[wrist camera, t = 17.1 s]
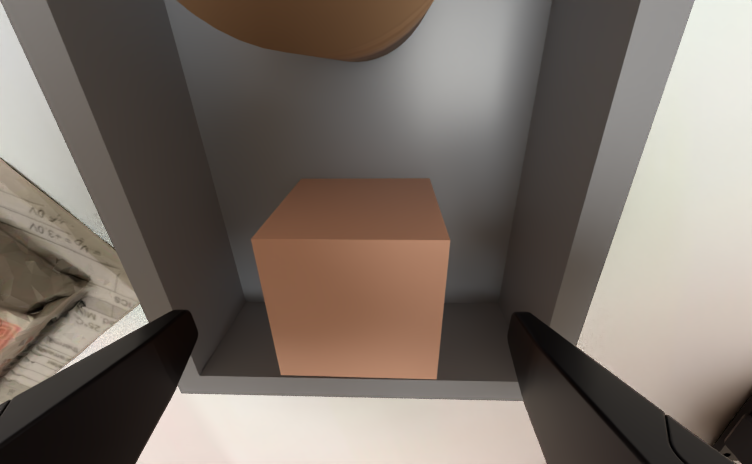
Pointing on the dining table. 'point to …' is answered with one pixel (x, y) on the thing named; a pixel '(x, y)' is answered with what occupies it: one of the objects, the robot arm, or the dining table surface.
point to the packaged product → (51, 286)
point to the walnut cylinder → (316, 24)
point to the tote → (359, 161)
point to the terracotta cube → (355, 278)
